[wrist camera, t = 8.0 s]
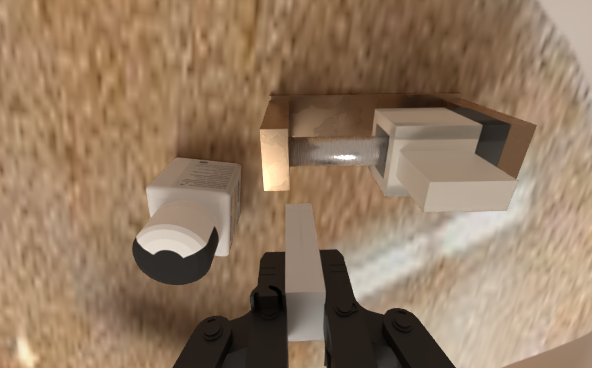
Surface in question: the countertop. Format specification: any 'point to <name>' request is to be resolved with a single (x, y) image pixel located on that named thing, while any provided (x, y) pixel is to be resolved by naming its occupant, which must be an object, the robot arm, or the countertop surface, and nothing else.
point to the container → (188, 219)
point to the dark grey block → (487, 134)
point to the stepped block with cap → (438, 162)
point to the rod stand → (355, 131)
